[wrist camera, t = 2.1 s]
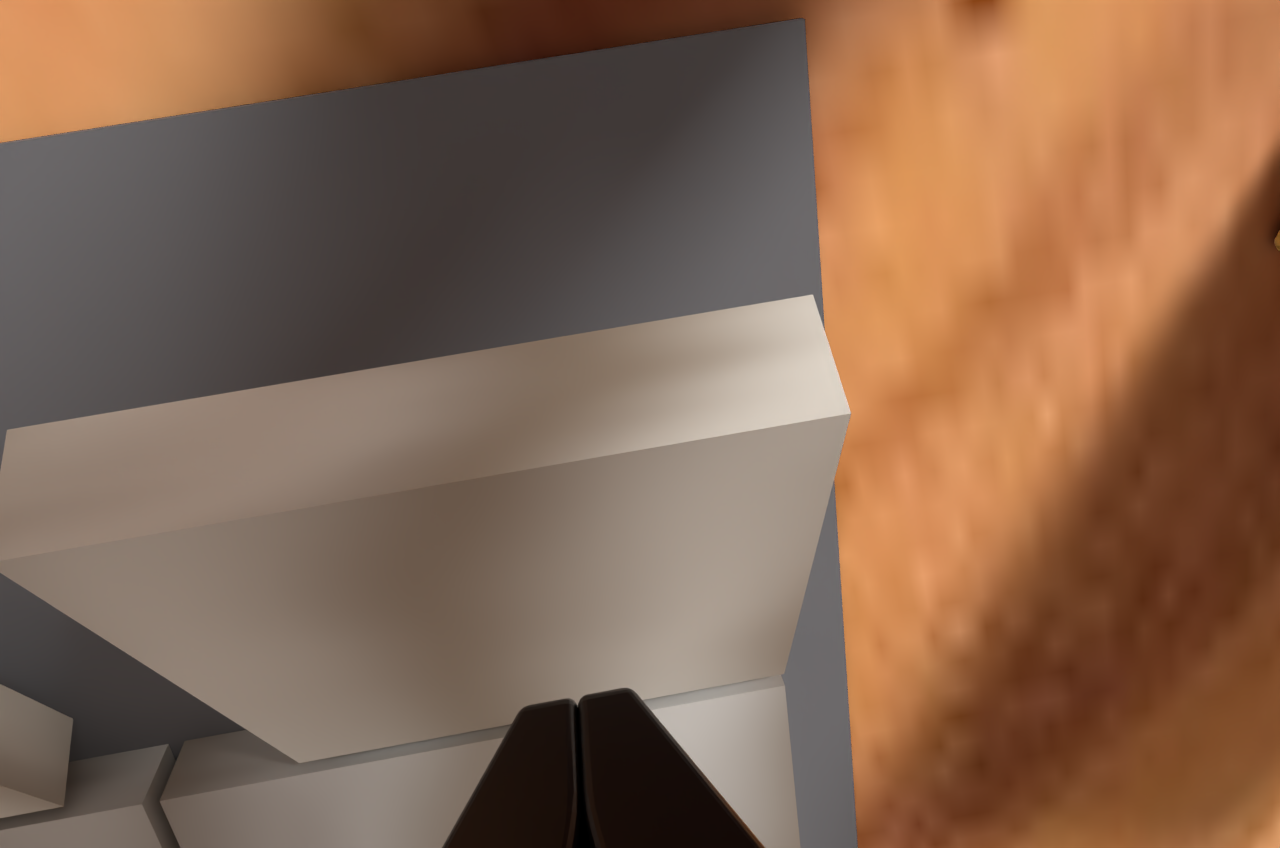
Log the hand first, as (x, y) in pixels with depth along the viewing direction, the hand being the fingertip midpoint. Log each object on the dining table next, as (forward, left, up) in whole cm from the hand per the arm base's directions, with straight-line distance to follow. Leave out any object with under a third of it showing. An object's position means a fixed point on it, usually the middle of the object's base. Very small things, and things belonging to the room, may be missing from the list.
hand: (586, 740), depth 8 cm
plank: (+1, +2, -7) cm, 7 cm away
